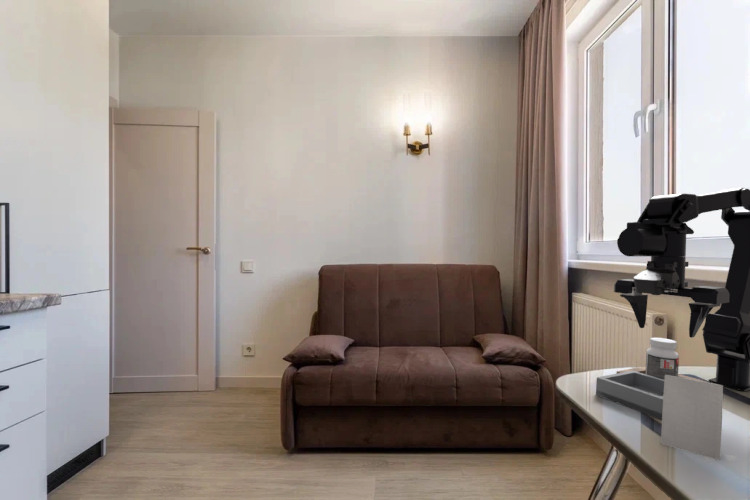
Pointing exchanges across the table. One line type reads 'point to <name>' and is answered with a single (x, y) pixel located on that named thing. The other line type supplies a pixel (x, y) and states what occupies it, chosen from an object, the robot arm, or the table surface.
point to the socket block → (643, 370)
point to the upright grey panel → (692, 416)
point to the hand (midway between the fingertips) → (665, 332)
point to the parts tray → (633, 391)
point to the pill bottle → (662, 358)
